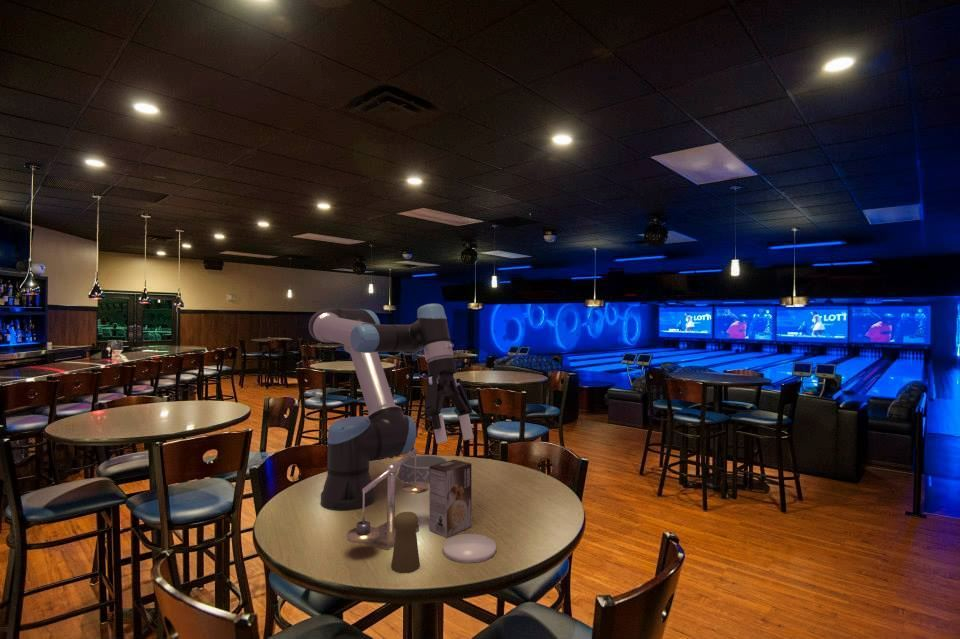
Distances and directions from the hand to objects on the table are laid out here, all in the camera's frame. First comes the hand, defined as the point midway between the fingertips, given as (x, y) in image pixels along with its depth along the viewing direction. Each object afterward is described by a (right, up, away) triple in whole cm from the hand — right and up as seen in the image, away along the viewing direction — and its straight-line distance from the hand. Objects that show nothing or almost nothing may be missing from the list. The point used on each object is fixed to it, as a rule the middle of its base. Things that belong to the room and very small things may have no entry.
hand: (456, 441), depth 126 cm
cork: (-10, -21, -21) cm, 32 cm away
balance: (-15, -21, -7) cm, 27 cm away
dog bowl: (-13, -23, +42) cm, 49 cm away
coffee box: (-1, -22, -2) cm, 22 cm away
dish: (+4, -21, -14) cm, 26 cm away
